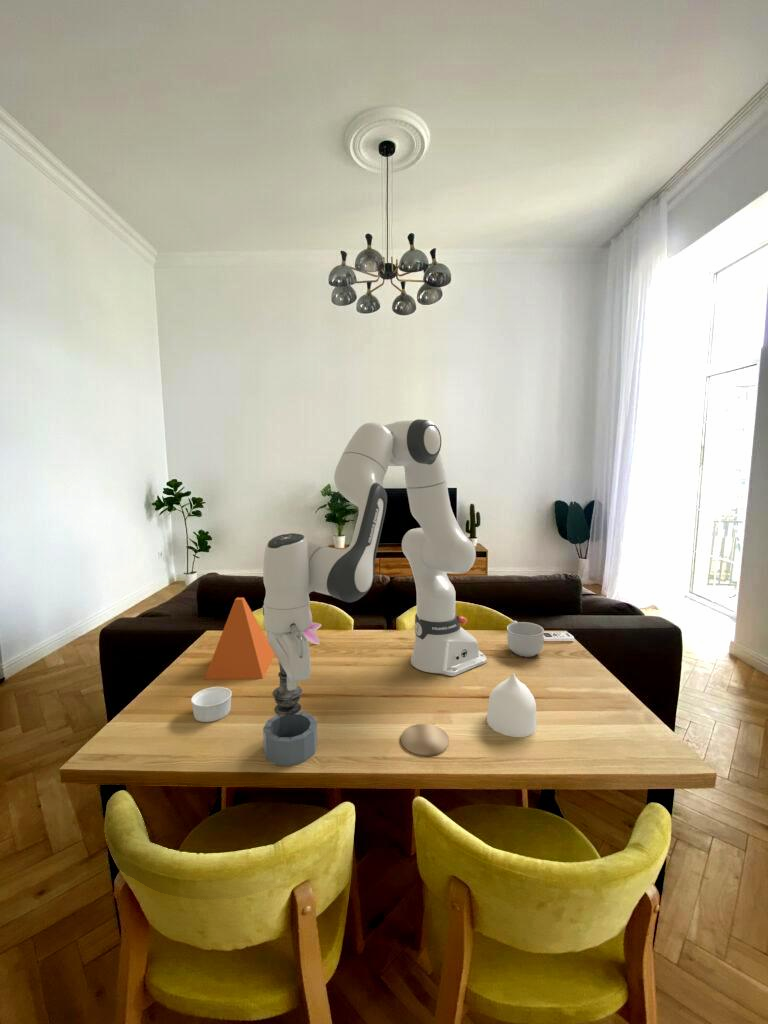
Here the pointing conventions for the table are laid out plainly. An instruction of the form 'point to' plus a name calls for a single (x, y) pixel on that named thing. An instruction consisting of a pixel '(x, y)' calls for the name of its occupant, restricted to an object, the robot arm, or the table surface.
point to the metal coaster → (425, 739)
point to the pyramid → (241, 647)
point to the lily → (312, 631)
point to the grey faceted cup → (290, 738)
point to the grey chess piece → (286, 697)
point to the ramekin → (211, 704)
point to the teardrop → (512, 709)
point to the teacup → (525, 638)
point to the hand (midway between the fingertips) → (288, 683)
